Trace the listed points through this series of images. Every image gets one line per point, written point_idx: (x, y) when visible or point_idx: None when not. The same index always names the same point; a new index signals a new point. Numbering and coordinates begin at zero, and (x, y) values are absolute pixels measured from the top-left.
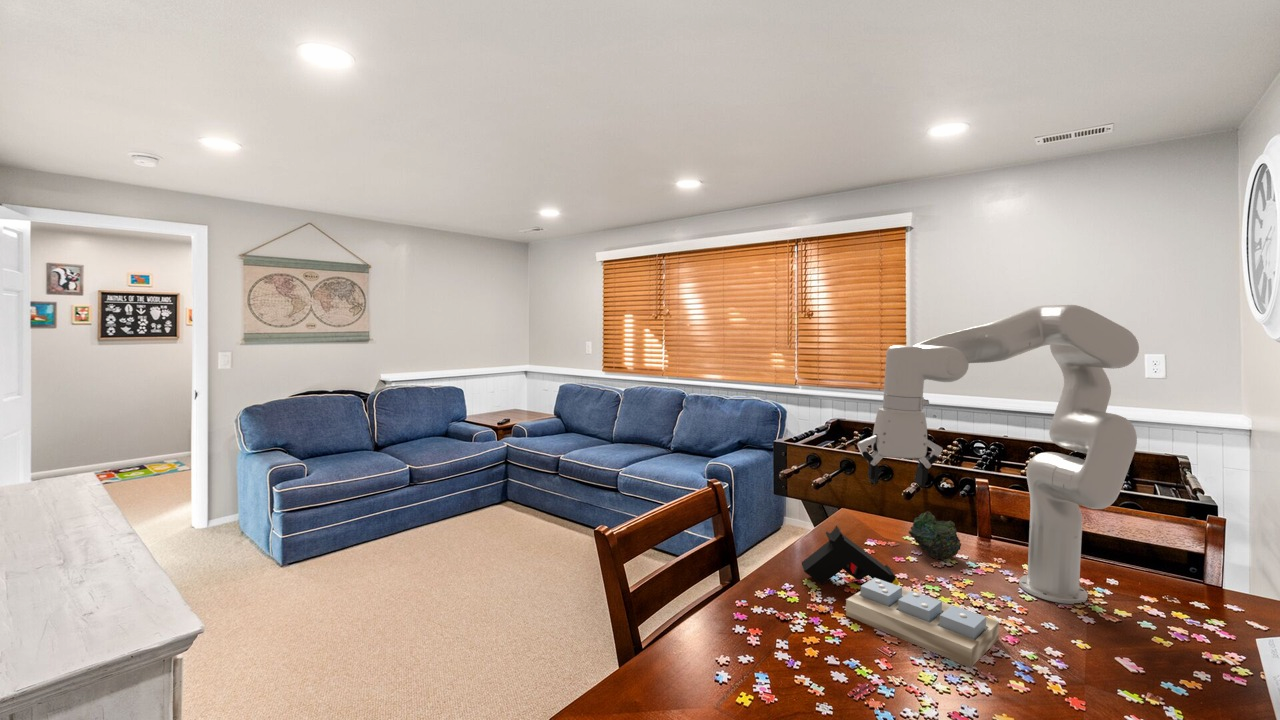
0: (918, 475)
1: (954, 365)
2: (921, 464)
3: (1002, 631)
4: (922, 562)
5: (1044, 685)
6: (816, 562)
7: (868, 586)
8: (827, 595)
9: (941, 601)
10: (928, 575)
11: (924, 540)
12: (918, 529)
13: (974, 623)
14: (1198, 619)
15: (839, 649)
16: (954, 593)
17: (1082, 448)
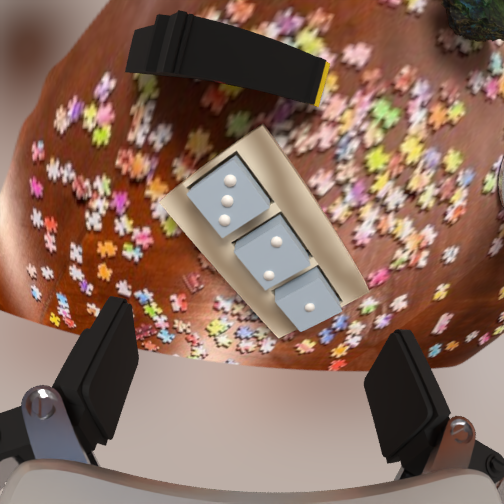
0: (394, 390)
1: None
2: (409, 461)
3: (385, 260)
4: (427, 22)
5: (332, 347)
6: (138, 72)
7: (201, 197)
8: (161, 120)
9: (309, 265)
10: (408, 69)
11: (456, 5)
12: None
13: (309, 324)
14: None
15: (135, 272)
16: (407, 143)
17: None
